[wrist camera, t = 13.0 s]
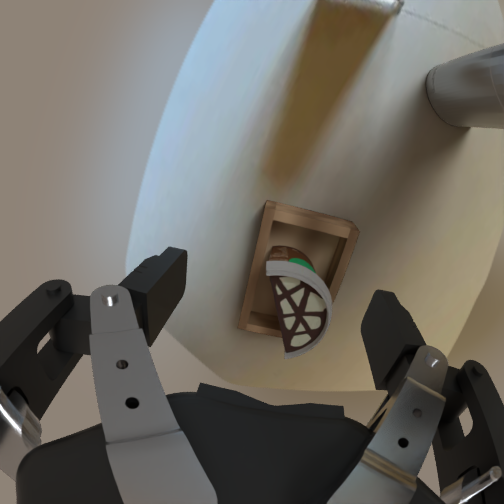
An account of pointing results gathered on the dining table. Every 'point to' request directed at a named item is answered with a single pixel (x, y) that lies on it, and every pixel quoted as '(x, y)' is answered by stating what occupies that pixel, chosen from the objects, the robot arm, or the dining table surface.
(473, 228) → the dining table surface
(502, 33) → the dining table surface
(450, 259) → the dining table surface
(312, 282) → the food container
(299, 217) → the wooden box
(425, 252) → the dining table surface
